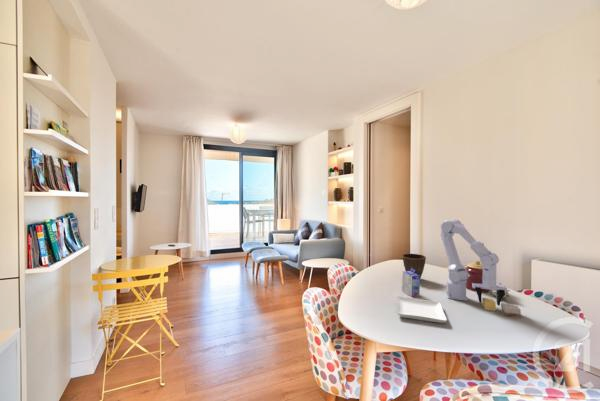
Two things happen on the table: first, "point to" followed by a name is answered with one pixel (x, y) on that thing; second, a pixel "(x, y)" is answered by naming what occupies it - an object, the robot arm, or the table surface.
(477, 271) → the canister
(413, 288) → the ink cartridge box
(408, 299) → the salad plate
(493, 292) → the game die
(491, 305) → the mustard cube
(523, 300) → the table surface
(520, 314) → the tower base slab
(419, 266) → the plant pot
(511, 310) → the tower top slab
